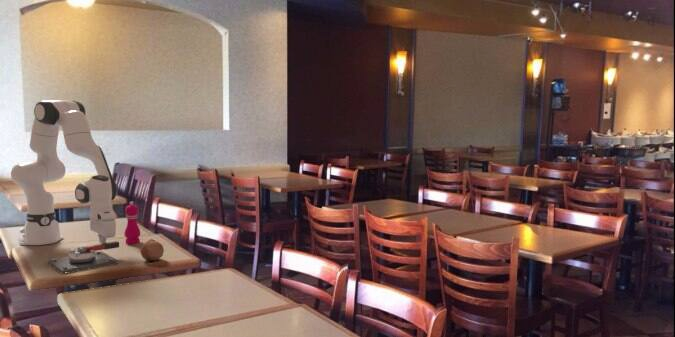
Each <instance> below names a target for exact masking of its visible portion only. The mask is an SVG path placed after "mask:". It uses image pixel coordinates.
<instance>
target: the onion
mask: <svg viewBox="0 0 675 337" xmlns="http://www.w3.org/2000/svg"><path fill="white" fill-rule="evenodd" d="M164 252H165V249H164V246H163V245H162V243H160V242H158V241H157V240H154V239H153V238H151V239H149V240H147V241H146V242H144V243H143V244H142V246H141V247H140V254H141V258H143V259H144V260H146V261H147V262H149V261H153V262H156V260H158V259H159V260H160V259H161V258H162V257H163V255H164ZM159 260H158V261H159Z"/></svg>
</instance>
